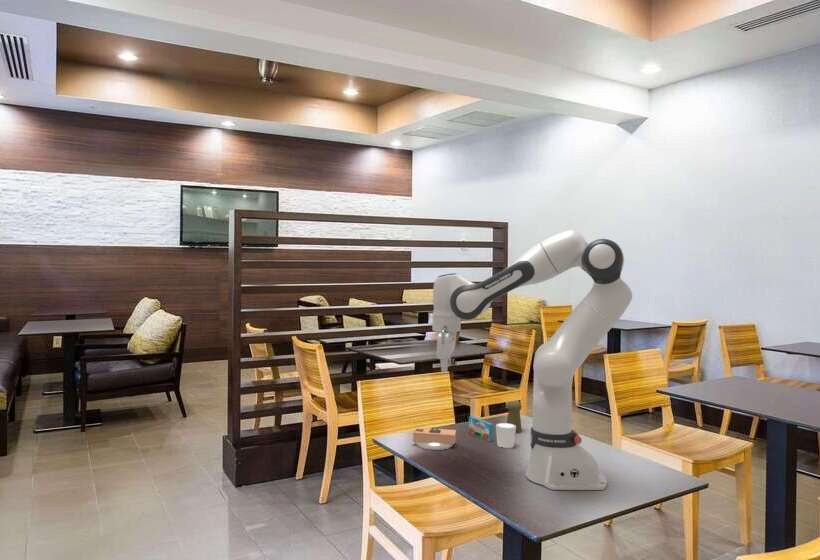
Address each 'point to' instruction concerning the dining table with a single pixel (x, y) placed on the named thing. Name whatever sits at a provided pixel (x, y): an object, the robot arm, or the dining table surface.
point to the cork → (514, 415)
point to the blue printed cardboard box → (480, 428)
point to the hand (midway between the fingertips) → (445, 369)
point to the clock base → (433, 445)
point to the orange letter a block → (434, 436)
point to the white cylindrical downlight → (505, 435)
